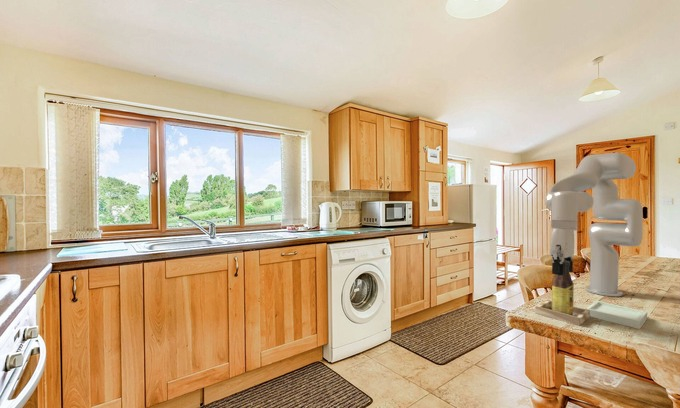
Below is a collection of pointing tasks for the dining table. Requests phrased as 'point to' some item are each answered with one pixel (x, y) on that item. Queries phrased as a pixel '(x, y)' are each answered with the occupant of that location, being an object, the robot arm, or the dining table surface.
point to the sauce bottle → (563, 291)
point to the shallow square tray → (617, 314)
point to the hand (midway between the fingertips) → (562, 272)
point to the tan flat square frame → (582, 313)
